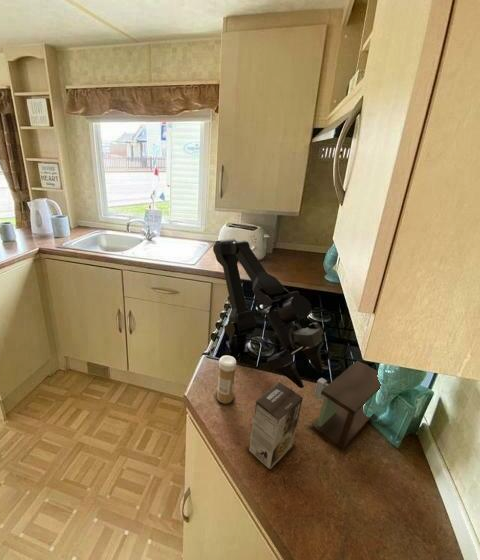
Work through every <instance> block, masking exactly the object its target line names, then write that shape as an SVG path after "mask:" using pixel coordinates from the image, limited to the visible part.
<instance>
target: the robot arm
mask: <svg viewBox="0 0 480 560" xmlns="http://www.w3.org/2000/svg"><path fill="white" fill-rule="evenodd" d="M212 251H213V254H214V256H215V259H216V261H217V262H218V264H220V266H221V267H222V270H223V275H224V279H225V282H226V283H225V284H226V288H227V293H228V298H229V302H230V306H231V310H230V313H229V316H228V322H229V323H227V324H225V325H224V326H223V331H224V333H225V334H226V335H227V336H228V337H229V340H226V341H225V344H226V347H227V350H228V351H229V353H230V354H232V355H233V354H245V353H249V349H248V347H247V337H248V335H252V334H253V333H254V331H255V330H256V328H257V319H256V317H255V315H256V314H255V312H254V310H253V309H252V310H250V308H249V307H248V306H247V302H246V298H245V294H244V289H243V285H242V280H241V275H240V270H239V265H238V263H240V265H241V267H242V268H243V270H244V271H245V273H246V275H247V277H248V279H250V281H251V282H252V292H253V294H254V297H255V300H256V301H257V302H258V303H259V304H260V305H264V306H263V307H262V311H261V314H260V315H261V317H265V316H266V318H267V320H268V321H269V324H270V326H271V328H272V329H273V331H274V334H272V336H273V338H274V339H276V338H277V339H278V341H279V343H280V345H281V346H282V347H280V348H279V350H280V352H277V353H274V354H273V355H271V356H269V357H268V358H267V359H266V365H267V367H268V369H269V370H273V371H274V372H276V371H277V372H279V373H280V374H282V375H283V376H285V377H286V378H288V379H289V380H290V381H291V382H292V383H293V384H295V385H296V387H298V388H300V389H304V388H305V386H304V383H303V381H302V378H301V376H300V374H299V371H298V370H297V367H296V365H297V361H296V360H294V356H295V355H297V354H299V352H301V351H302V353H303V354H304V356H306V358H307V359H308V361H309V362H310V363H311V365H312V366H313V367H314V368H315V370H317V372H318V373H319V374H322V373H324V368H323V367H324V366H323V362H322V355H321V349H322V346H323V345H324V341H325V340H326V338H325V337H324V335H323V334H324V333H325V331H324V330H323V328H322V327H321V325H320V324H319V322H312V323H310V324H309V325H308V326H307V327H305V328H303V327H302V325H301V324H299V322H297V321H299V320H302V319H304V318H307V317H308V316H310V314H311V313H312V305H311V302H310V301H309V300H308V298H306V297H305V296H304V295H301V294H300V292H299V291H298V290H296V291H295V290H294V291H291V292H290V291H289V289H287V288H286V287H285V286H284V285H283V284H282V282H281V281H280V280H278V278H277V277H275V276H274V275H272V274H270V273H268V272H267V271H266V269H265V268H264V266H263V264H262V263H261V262H260V260H259V258H257V255H256V254H255V253H254V251H253V250H252V249H251V245H250V243H249V242H248V241H247V240H236V239H235V238H228V239H218V240H216V241H215V243H214V244H213V246H212ZM295 322H297V323H295Z"/></svg>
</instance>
